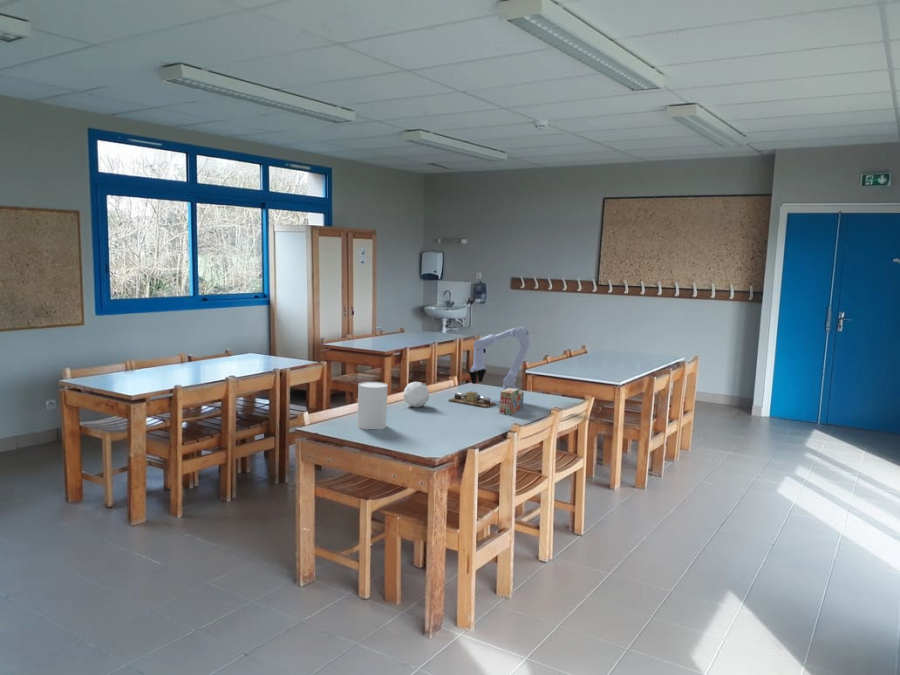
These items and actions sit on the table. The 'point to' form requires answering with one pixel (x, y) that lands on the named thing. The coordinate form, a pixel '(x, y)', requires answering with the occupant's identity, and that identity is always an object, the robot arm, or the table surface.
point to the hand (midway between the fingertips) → (477, 382)
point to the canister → (372, 405)
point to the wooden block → (471, 396)
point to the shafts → (476, 397)
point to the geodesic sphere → (416, 394)
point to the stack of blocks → (511, 400)
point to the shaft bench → (477, 403)
